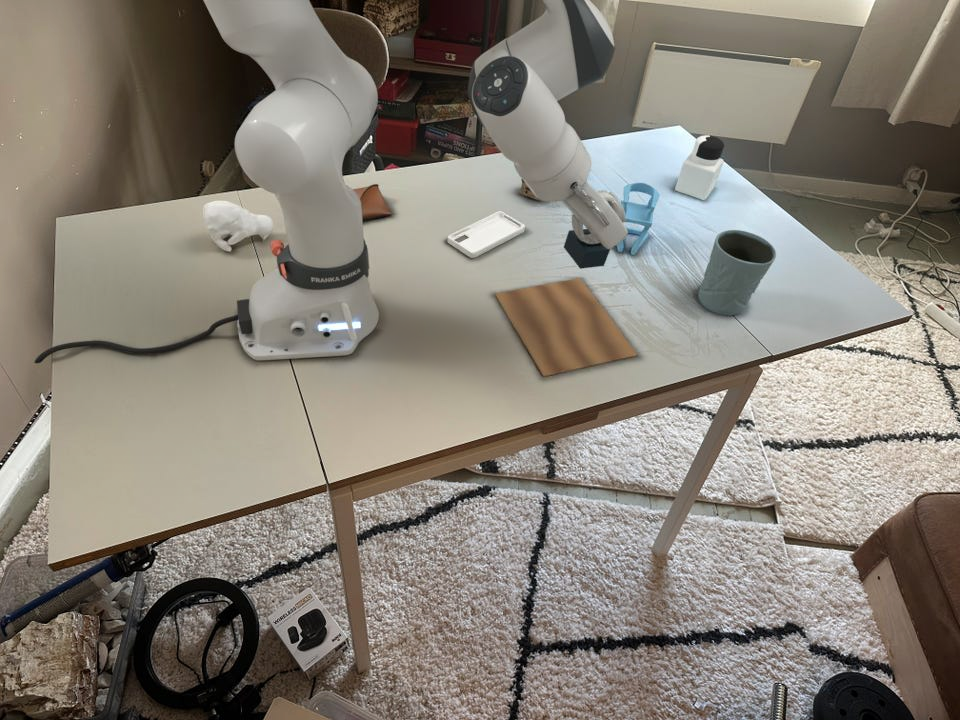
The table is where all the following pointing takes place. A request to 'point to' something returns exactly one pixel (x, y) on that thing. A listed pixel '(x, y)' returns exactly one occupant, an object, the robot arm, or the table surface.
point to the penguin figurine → (233, 223)
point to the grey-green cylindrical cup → (734, 271)
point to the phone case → (486, 234)
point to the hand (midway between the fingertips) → (593, 221)
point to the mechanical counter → (527, 191)
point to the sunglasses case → (372, 203)
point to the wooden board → (564, 327)
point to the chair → (638, 213)
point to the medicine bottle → (701, 168)
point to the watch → (590, 238)
